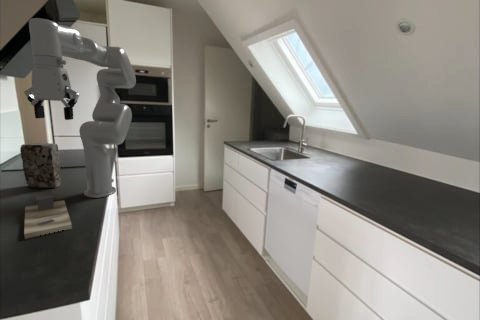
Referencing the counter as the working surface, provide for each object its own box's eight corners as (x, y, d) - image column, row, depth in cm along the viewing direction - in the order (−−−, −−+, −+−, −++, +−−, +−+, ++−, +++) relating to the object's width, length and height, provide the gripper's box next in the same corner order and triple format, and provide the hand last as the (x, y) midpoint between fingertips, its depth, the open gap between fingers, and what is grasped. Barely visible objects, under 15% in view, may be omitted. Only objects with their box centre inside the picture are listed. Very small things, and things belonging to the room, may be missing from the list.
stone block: (63, 183, 126) (58, 142, 122) (56, 188, 120) (51, 145, 115) (32, 184, 124) (26, 142, 119) (23, 189, 117) (16, 145, 112)
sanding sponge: (38, 205, 98) (36, 192, 97) (52, 202, 101) (51, 190, 100) (38, 213, 92) (36, 199, 91) (54, 210, 95) (52, 197, 94)
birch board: (25, 210, 97) (25, 206, 97) (64, 203, 105) (64, 199, 104) (24, 239, 79) (24, 234, 79) (72, 228, 86) (71, 224, 86)
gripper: (83, 66, 86) (87, 119, 89) (31, 63, 86) (38, 116, 90) (67, 62, 78) (72, 121, 82) (11, 60, 79) (19, 118, 83)
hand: (54, 118), depth 86 cm, fingers open, 9 cm apart
